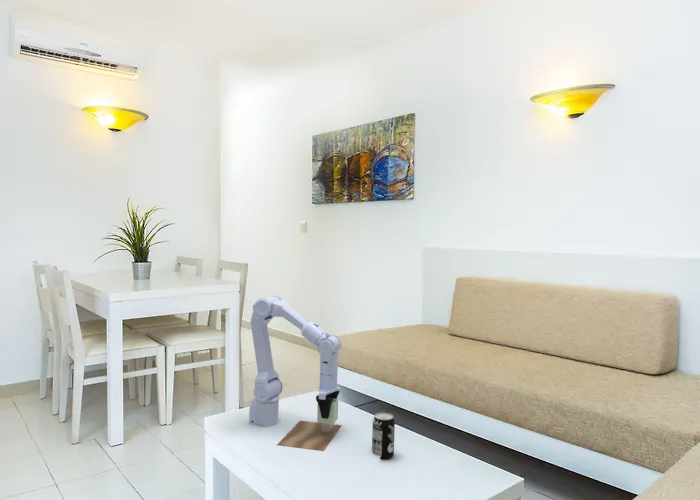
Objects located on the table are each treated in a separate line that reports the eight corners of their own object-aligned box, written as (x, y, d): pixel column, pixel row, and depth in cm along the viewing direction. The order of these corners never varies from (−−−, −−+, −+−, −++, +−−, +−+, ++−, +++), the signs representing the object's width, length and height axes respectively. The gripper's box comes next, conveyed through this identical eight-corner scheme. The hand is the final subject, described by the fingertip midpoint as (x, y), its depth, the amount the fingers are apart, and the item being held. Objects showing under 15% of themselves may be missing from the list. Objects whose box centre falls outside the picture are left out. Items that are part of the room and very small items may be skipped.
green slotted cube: (317, 422, 166) (317, 402, 166) (322, 416, 171) (322, 397, 171) (333, 424, 165) (333, 403, 165) (337, 418, 170) (338, 398, 170)
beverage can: (393, 451, 158) (395, 412, 157) (393, 461, 151) (394, 420, 151) (372, 450, 158) (373, 411, 158) (371, 459, 152) (372, 419, 151)
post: (322, 433, 167) (322, 417, 167) (324, 431, 170) (324, 414, 170) (329, 434, 167) (330, 417, 166) (331, 431, 169) (332, 415, 169)
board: (276, 448, 157) (276, 445, 157) (300, 423, 179) (300, 420, 179) (323, 455, 154) (323, 451, 154) (341, 428, 175) (342, 425, 175)
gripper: (334, 380, 160) (333, 424, 160) (345, 369, 174) (344, 409, 174) (312, 378, 161) (311, 421, 162) (325, 367, 175) (324, 407, 176)
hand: (327, 415), depth 168 cm, fingers closed on green slotted cube, 5 cm apart
